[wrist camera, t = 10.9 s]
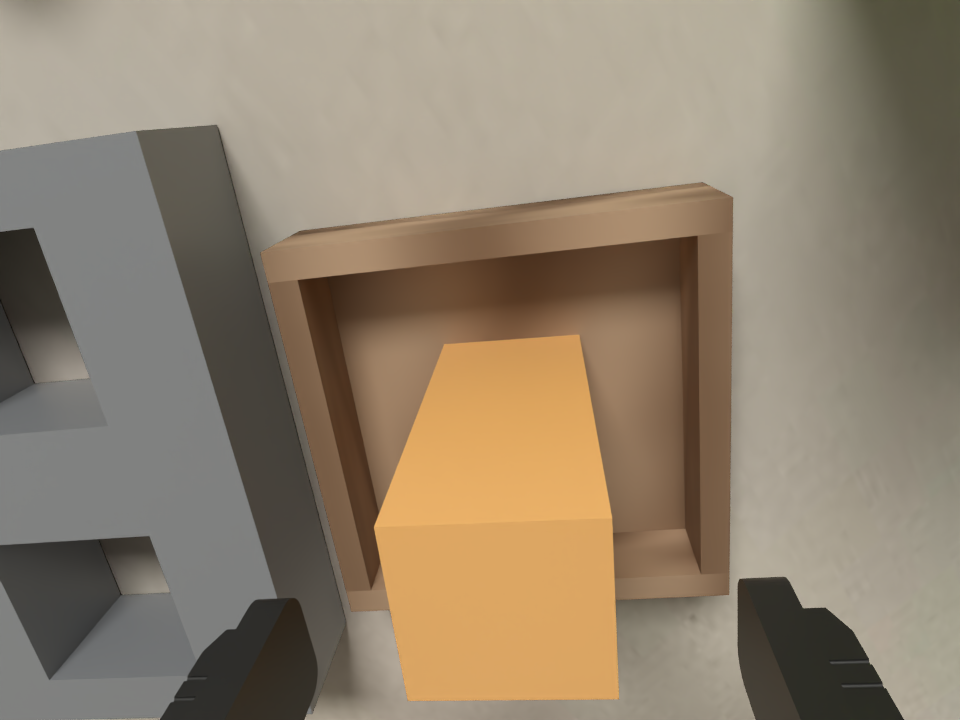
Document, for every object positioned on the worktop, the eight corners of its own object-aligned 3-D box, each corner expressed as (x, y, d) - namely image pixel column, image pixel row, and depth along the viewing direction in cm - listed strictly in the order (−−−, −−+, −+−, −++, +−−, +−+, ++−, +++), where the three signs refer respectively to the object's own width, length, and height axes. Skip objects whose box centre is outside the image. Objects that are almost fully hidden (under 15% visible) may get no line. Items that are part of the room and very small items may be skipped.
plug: (579, 334, 19) (612, 518, 11) (585, 454, 20) (619, 699, 12) (444, 344, 19) (374, 527, 11) (459, 461, 21) (407, 700, 12)
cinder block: (216, 124, 18) (135, 130, 15) (346, 622, 25) (312, 713, 21) (-152, 178, 20) (-310, 195, 16) (60, 634, 26) (-18, 721, 23)
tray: (702, 182, 18) (732, 197, 15) (704, 532, 22) (729, 595, 19) (300, 231, 19) (260, 252, 17) (373, 551, 23) (351, 611, 21)
